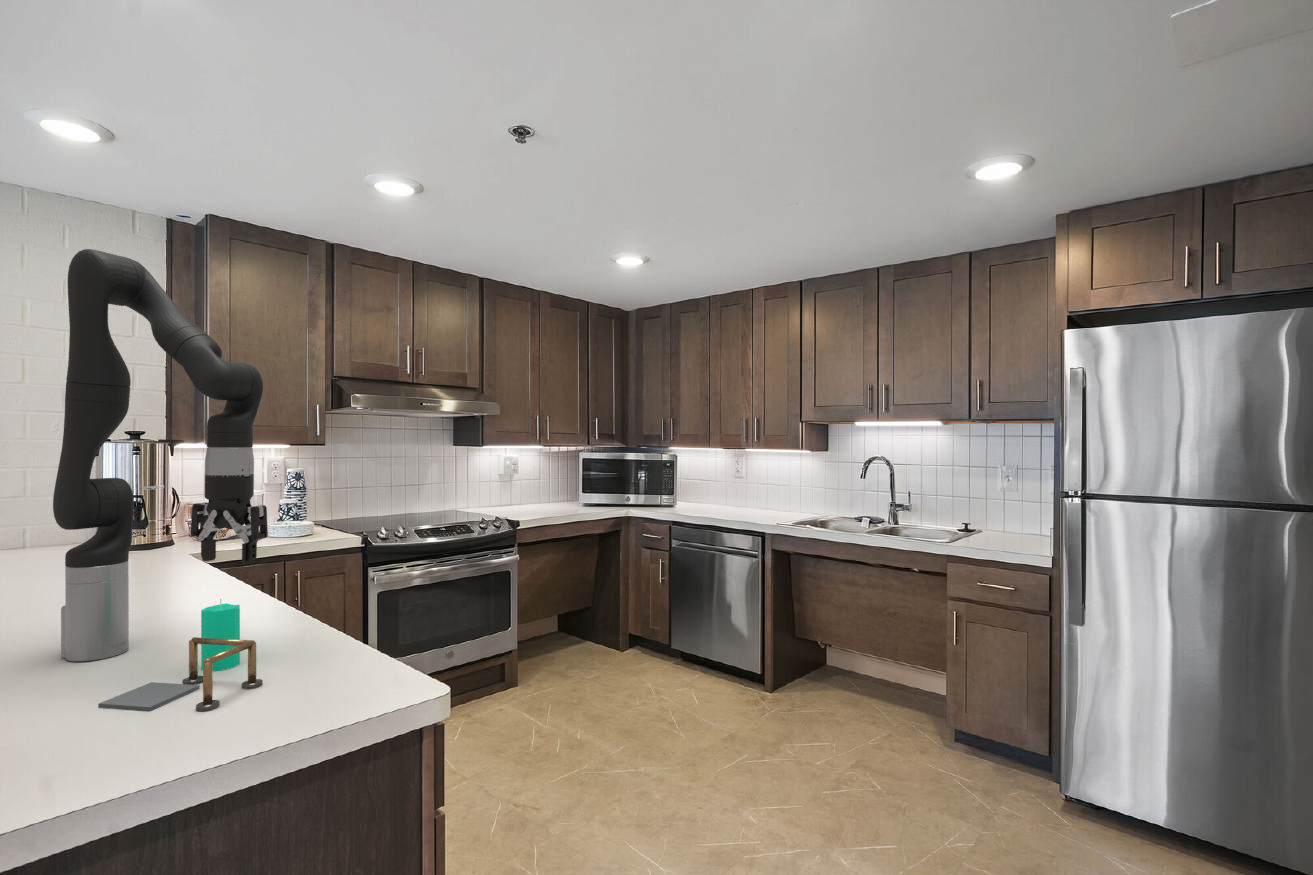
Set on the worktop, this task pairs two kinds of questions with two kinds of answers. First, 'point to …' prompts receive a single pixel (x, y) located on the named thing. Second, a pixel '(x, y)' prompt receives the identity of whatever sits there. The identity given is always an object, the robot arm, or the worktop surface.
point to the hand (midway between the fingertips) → (228, 561)
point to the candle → (220, 633)
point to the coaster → (149, 696)
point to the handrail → (207, 664)
